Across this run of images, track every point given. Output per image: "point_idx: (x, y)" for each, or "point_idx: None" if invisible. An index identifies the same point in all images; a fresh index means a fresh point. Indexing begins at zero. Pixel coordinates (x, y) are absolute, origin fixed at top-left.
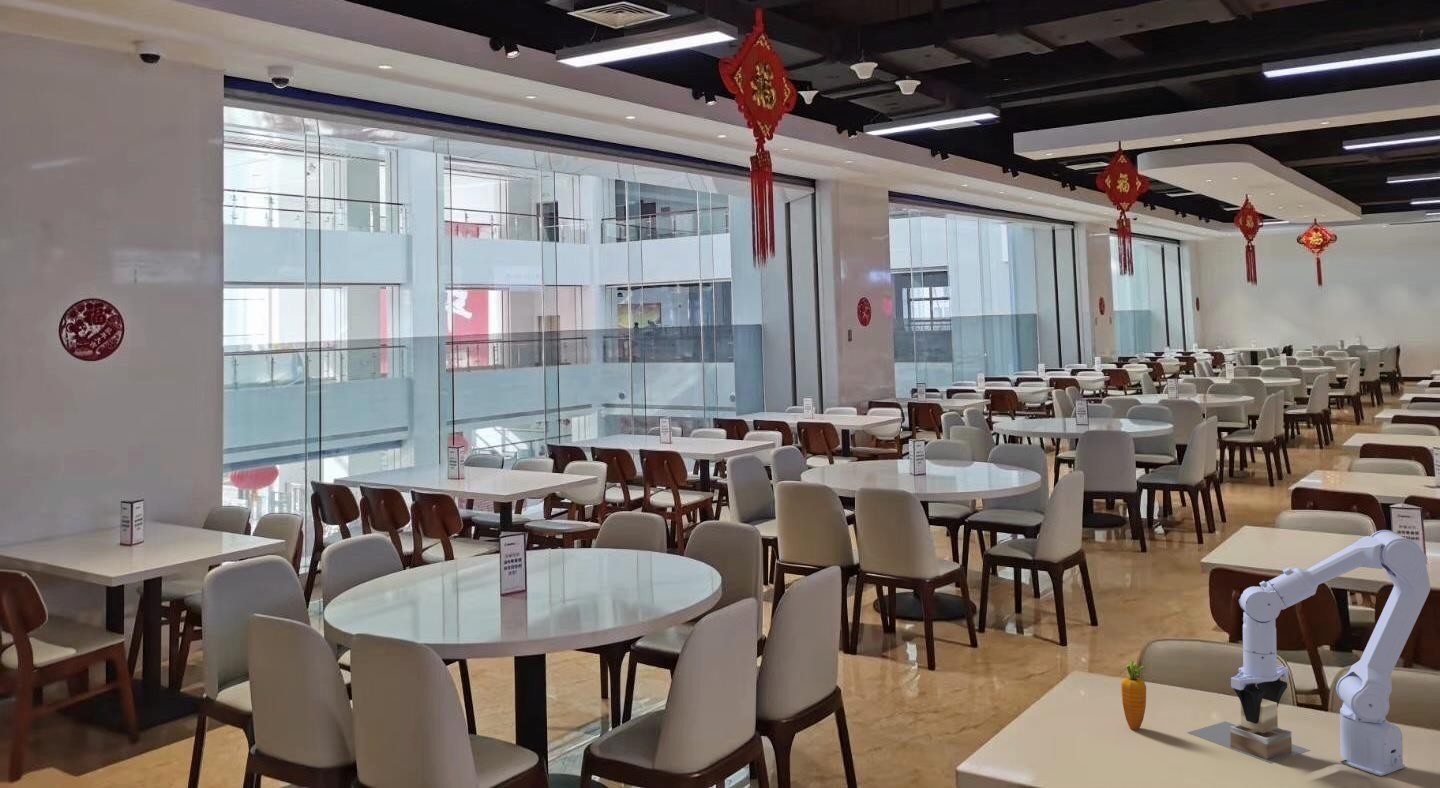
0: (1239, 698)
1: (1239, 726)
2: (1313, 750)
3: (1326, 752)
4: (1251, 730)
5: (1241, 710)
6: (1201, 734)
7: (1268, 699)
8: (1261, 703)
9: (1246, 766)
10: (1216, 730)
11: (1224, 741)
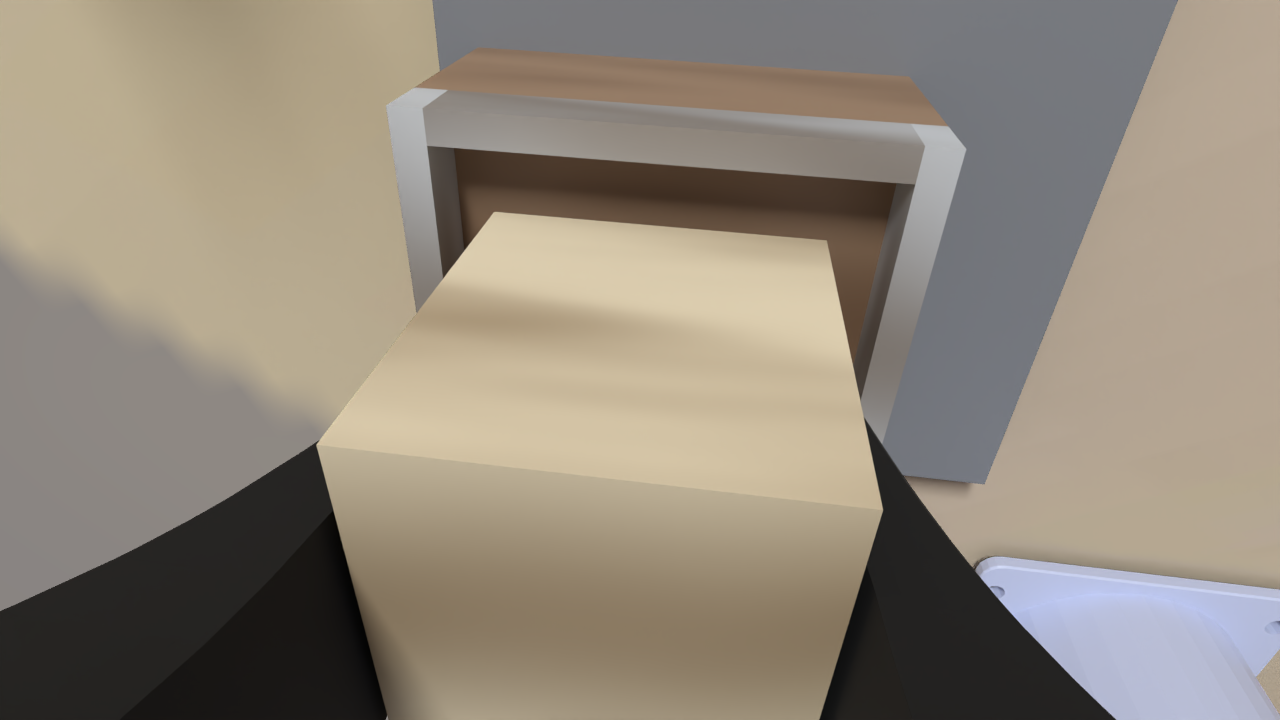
0: (92, 580)
1: (543, 149)
2: (1115, 431)
3: (1134, 495)
4: (686, 217)
5: (408, 336)
6: None
7: (842, 718)
8: (541, 699)
9: (365, 291)
10: None
11: None
